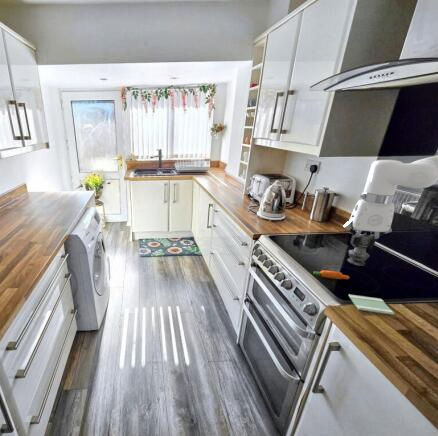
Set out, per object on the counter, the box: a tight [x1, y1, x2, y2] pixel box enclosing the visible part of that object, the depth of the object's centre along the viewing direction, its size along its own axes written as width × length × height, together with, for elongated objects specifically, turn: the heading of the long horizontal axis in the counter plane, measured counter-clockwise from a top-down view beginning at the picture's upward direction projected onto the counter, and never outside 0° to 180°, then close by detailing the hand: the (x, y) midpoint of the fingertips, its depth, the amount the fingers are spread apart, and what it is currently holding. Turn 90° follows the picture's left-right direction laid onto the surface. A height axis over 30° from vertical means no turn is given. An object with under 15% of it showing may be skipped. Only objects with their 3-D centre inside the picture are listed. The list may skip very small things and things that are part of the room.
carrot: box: [312, 269, 350, 280], centre depth 100 cm, size 13×3×3 cm, turn 73°
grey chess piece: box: [346, 232, 370, 267], centre depth 87 cm, size 6×6×12 cm
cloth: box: [348, 293, 396, 316], centre depth 85 cm, size 8×10×1 cm
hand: (361, 245), depth 87 cm, fingers closed on grey chess piece, 3 cm apart
